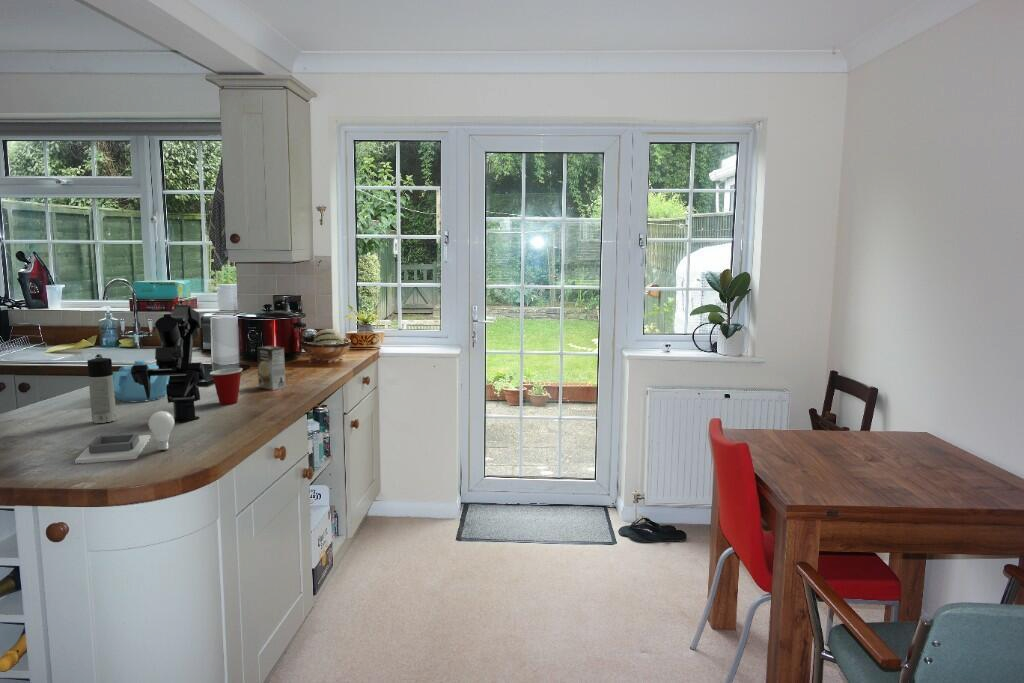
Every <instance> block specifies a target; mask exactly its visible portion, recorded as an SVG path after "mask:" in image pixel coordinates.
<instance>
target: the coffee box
mask: <svg viewBox="0 0 1024 683" xmlns="http://www.w3.org/2000/svg"><path fill="white" fill-rule="evenodd" d="M256 349H257V350H256V352H257V353H256V354H257V357H256V358H257V377H258V378H257V379H258V380H257V381H258V382H257V383H258V388H263V389H265V390H271V391H274V390H278V389H284V388H286V368H285V347H283V346H282V347H281V346H277V345H276V346H275V345H264V346H258V347H256Z"/></svg>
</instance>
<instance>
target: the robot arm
mask: <svg viewBox="0 0 1024 683" xmlns="http://www.w3.org/2000/svg"><path fill="white" fill-rule="evenodd" d="M154 326H155V330H156V333H157V336H158V339H159V341H160V342H161V346H160V347H155V350H154V351H155V352H154V353H155V354H154V360H155V361H156V362H155V365H157V366H159V367H158V369H149V368H148V366H147V363H145V365H135V364H132V365H133V366H132V367H131V375H132V377H133V380H134V382H136V383H139V384H140V385H143V386H144V388H145V392H146V396H147V399H149V397H150V388H151V383H150V378H151V376H163V375H166V376H170V377H169V381H168V384H167V385H166V392H167V394H166V399H167V404H170V403H173V417H174V421H175V422H177V421H178V422H177V423H184V422H185V423H186V422H189V421H193V420H198V419H200V416H199V415H196V407H195V402H198V401H201V395H200V388H199V386H198V385H197V383H200V382H201V381H204V380H205V379H206V369H205V366H204V364H203V363H202V362H192V360H193V345H194V340H195V339H196V338H197V337H198V336H199V335H200V329H202V319H201V314H200V313H199V312H198V311H197V310H195V309H193V307H192V305H189V304H177V305H174V306H173V311H172V313H164V314H163V316H162V317H160V318H158V319H157V320H156V321H155V323H154Z"/></svg>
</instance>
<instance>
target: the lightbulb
mask: <svg viewBox="0 0 1024 683" xmlns="http://www.w3.org/2000/svg"><path fill="white" fill-rule="evenodd" d="M175 422H176V421H174V415H172V414H171V413H170V412H169V411H167V410H165V411H164V410H158V411H156V412H154V413H152V414H151V416H150V417H149V418H148V422H147V423H148V424H147V425H148V428H149V430H150V432H152V433H153V435H154V437H155V440H156V442H157V449H158V450H159V451H161V450H164V451H167V449H169V438H170V434H171V431H173V429H174V427H175Z"/></svg>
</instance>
